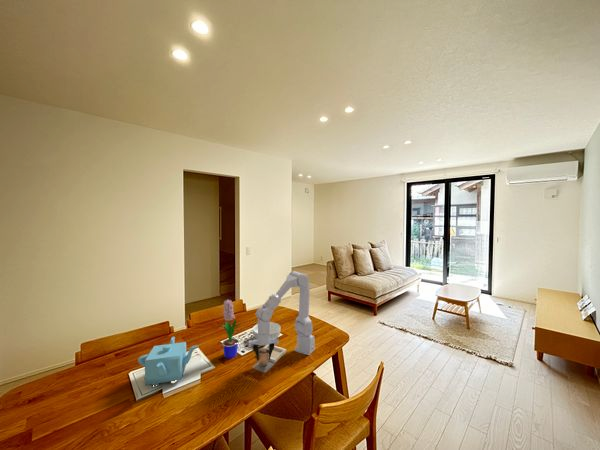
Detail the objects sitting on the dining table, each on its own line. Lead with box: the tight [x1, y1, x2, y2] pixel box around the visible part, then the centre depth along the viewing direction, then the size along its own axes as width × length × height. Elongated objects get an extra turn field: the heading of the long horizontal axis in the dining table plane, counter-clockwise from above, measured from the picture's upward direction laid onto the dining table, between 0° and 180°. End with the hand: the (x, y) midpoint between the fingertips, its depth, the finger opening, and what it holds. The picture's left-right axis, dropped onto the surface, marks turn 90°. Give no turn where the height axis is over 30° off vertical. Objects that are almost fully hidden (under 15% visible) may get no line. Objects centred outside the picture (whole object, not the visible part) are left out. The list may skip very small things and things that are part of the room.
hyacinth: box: [221, 299, 242, 359], centre depth 124 cm, size 9×10×30 cm
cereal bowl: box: [252, 321, 281, 339], centre depth 142 cm, size 17×17×7 cm
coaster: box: [252, 361, 276, 374], centre depth 115 cm, size 8×8×1 cm
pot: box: [258, 347, 269, 366], centre depth 116 cm, size 5×5×6 cm
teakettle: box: [137, 336, 199, 387], centre depth 107 cm, size 19×19×15 cm
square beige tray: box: [263, 344, 287, 364], centre depth 125 cm, size 12×11×2 cm
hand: (263, 358), depth 115 cm, fingers closed on pot, 5 cm apart
